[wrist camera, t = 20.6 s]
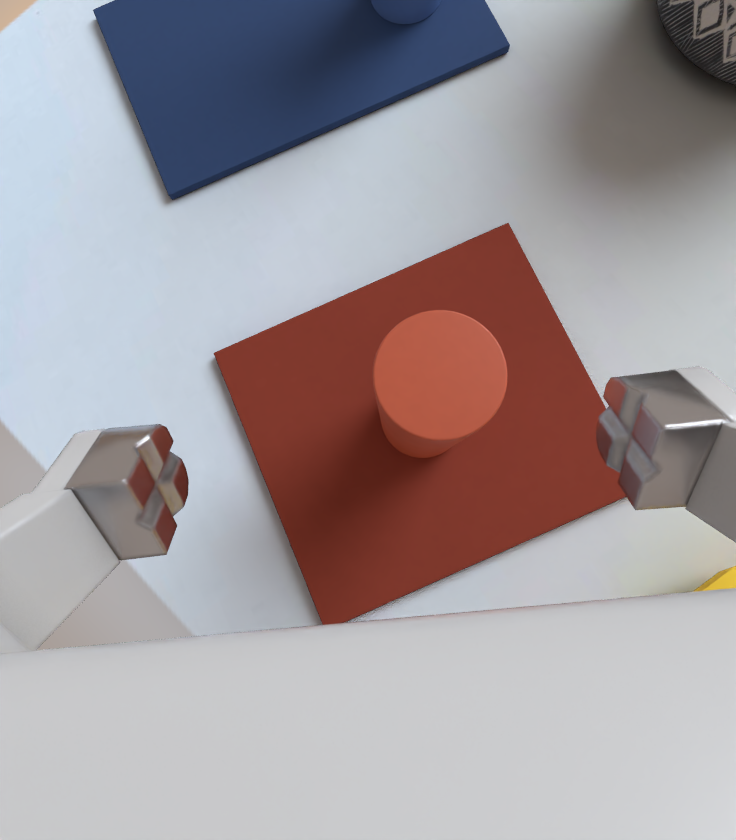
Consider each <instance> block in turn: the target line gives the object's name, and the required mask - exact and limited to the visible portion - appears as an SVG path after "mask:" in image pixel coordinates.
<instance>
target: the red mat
mask: <svg viewBox="0 0 736 840" xmlns="http://www.w3.org/2000/svg"><path fill="white" fill-rule="evenodd" d="M433 310H447V311H453V312H457V313H461V314H464V315H466V316H469V317H471V318H472V319H474V320H476V321H478V322H479V323H480V324H482V325H483V326H484V327H485V328H486V329H487V330H488V331H489V332H491V334H492V335H493V336H494V337H495V339H496V340H497V342H498V344H499V345H500V347H501V349H502V352H503V354H504V357H505V360H506V365H507V387H506V392H505V395H504V399H503V401H502V403H501V405H500V407H499V409H498V410H497V412H496V414H495V415H494V416H493V417H492V418H491V420H490V421H489V422H488V423H487V424H485V425H484V426H483V427H482V428H480V429H479V430H478V431H476V432H475V433H473V434H472V435H470V436H468V437H467V438H465V439H464V440H462V441H461V442H459V443H458V444H456V445H455V446H453V447H452V448H450V449H448V450H447V451H445V452H444V453H442V454H440V455H437V456H435V457H430V458H416V457H411V456H408V455H406V454H403V453H402V452H400V451H398V450H397V449H396V448H395V447H394V446H393V445H392V444H391V443H390V442H389V441H388V439H387V438H386V436H385V434H384V431H383V429H382V424H381V420H380V415H379V410H378V405H377V401H376V396H375V391H374V386H373V365H374V359H375V356H376V353H377V351H378V349H379V346H380V344H381V343H382V341H383V340H384V338H385V337H386V335H387V334H388V333H389V332H390V331H391V330H392V329H393V328H394V327H395V326H396V325H397V324H399V323H400V322H402V321H403V320H405V319H407V318H409V317H411V316H413V315H416V314H418V313H422V312H426V311H433ZM214 355H215V358H216V360H217V363H218V365H219V368H220V370H221V373H222V375H223V378H224V380H225V382H226V385H227V387H228V390H229V392H230V395H231V397H232V400H233V402H234V405H235V407H236V410H237V412H238V415H239V417H240V420H241V422H242V425H243V427H244V430H245V432H246V435H247V437H248V440H249V442H250V445H251V447H252V450H253V452H254V455H255V457H256V460H257V462H258V465H259V467H260V470H261V472H262V475H263V477H264V480H265V482H266V485H267V487H268V489H269V492H270V494H271V497H272V499H273V502H274V504H275V507H276V509H277V512H278V514H279V517H280V519H281V522H282V524H283V527H284V529H285V532H286V534H287V537H288V539H289V542H290V544H291V547H292V549H293V552H294V554H295V557H296V559H297V562H298V564H299V567H300V569H301V572H302V574H303V577H304V579H305V582H306V584H307V587H308V589H309V592H310V594H311V596H312V599H313V601H314V604H315V606H316V609H317V611H318V614H319V616H320V619H321V621H322V624H323V625H326V624H338V623H344V622H346V621H348V620H350V619H353V618H355V617H357V616H359V615H362V614H364V613H366V612H368V611H371V610H373V609H375V608H377V607H380V606H382V605H384V604H386V603H389V602H391V601H393V600H395V599H398V598H400V597H402V596H404V595H407V594H409V593H411V592H413V591H416V590H418V589H420V588H422V587H424V586H427V585H429V584H431V583H433V582H436V581H438V580H440V579H442V578H445V577H447V576H449V575H451V574H454V573H456V572H458V571H460V570H463V569H465V568H467V567H469V566H472V565H474V564H476V563H478V562H481V561H483V560H485V559H487V558H490V557H492V556H494V555H496V554H499V553H501V552H503V551H505V550H507V549H510V548H512V547H514V546H516V545H519V544H521V543H523V542H525V541H528V540H530V539H532V538H534V537H537V536H539V535H541V534H543V533H546V532H548V531H550V530H552V529H555V528H557V527H559V526H561V525H564V524H566V523H568V522H570V521H573V520H575V519H577V518H579V517H581V516H584V515H586V514H588V513H590V512H593V511H595V510H597V509H599V508H602V507H604V506H606V505H608V504H611V503H613V502H615V501H617V500H620V499H622V498H624V497H626V495H625V493H624V492H623V490H622V489H621V487H620V486H619V484H618V479H619V476H620V472H618V471H616V470H614V469H612V468H610V467H609V466H607V465H606V464H605V462H604V460H603V459H602V457H601V455H600V453H599V450H598V447H597V441H596V427H597V422H598V417H599V416H600V415H601V414H602V413H603V412H604V411H605V410H606V408H605V406H604V404H603V402H602V400H601V398H600V396H599V394H598V392H597V391H596V389H595V387H594V385H593V383H592V381H591V379H590V377H589V375H588V373H587V372H586V370H585V368H584V366H583V364H582V362H581V360H580V358H579V356H578V354H577V353H576V351H575V349H574V347H573V345H572V343H571V341H570V339H569V337H568V335H567V334H566V332H565V330H564V328H563V326H562V324H561V322H560V320H559V318H558V316H557V315H556V313H555V311H554V309H553V307H552V305H551V303H550V301H549V299H548V297H547V296H546V294H545V292H544V290H543V288H542V286H541V284H540V282H539V280H538V278H537V277H536V275H535V273H534V271H533V269H532V267H531V265H530V263H529V261H528V259H527V258H526V256H525V254H524V252H523V250H522V248H521V246H520V244H519V242H518V240H517V239H516V237H515V235H514V233H513V231H512V229H511V227H510V225H509V223H507V224H504V225H502V226H500V227H498V228H495V229H493V230H491V231H489V232H486V233H484V234H482V235H479V236H477V237H475V238H473V239H470V240H468V241H466V242H464V243H461V244H459V245H457V246H455V247H452V248H450V249H448V250H446V251H443V252H441V253H439V254H437V255H434V256H432V257H430V258H427V259H425V260H423V261H421V262H418V263H416V264H414V265H412V266H409V267H407V268H405V269H403V270H400V271H398V272H396V273H394V274H391V275H389V276H387V277H385V278H382V279H380V280H378V281H375V282H373V283H371V284H369V285H366V286H364V287H362V288H360V289H357V290H355V291H353V292H351V293H348V294H346V295H344V296H342V297H339V298H337V299H335V300H333V301H330V302H328V303H326V304H323V305H321V306H319V307H317V308H314V309H312V310H310V311H308V312H305V313H303V314H301V315H299V316H296V317H294V318H292V319H290V320H287V321H285V322H283V323H281V324H278V325H276V326H274V327H271V328H269V329H267V330H265V331H262V332H260V333H258V334H256V335H253V336H251V337H249V338H247V339H244V340H242V341H240V342H238V343H235V344H233V345H231V346H229V347H226V348H224V349H222V350H219V351H217V352H215V353H214Z"/></svg>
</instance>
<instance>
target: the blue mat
mask: <svg viewBox="0 0 736 840" xmlns="http://www.w3.org/2000/svg"><path fill="white" fill-rule="evenodd" d="M93 11H94V14H95V16H96V19H97V21H98V24H99V26H100V29H101V31H102V33H103V36H104V38H105V41H106V43H107V46H108V48H109V51H110V53H111V55H112V58H113V60H114V63H115V65H116V68H117V70H118V73H119V75H120V77H121V80H122V82H123V85H124V87H125V90H126V92H127V95H128V97H129V100H130V102H131V104H132V107H133V109H134V112H135V114H136V117H137V119H138V122H139V124H140V126H141V129H142V131H143V134H144V136H145V139H146V141H147V144H148V146H149V148H150V151H151V153H152V156H153V158H154V161H155V163H156V166H157V168H158V170H159V173H160V175H161V178H162V180H163V183H164V185H165V188H166V190H167V193H168V195H169V196H170V198H171V199H172V200H173V199H175V198H178V197H180V196H182V195H185V194H187V193H189V192H191V191H194V190H196V189H198V188H200V187H203V186H205V185H207V184H210V183H212V182H214V181H216V180H219V179H221V178H223V177H225V176H228V175H230V174H232V173H235V172H237V171H239V170H241V169H244V168H246V167H248V166H250V165H253V164H255V163H257V162H259V161H262V160H264V159H266V158H269V157H271V156H273V155H275V154H278V153H280V152H282V151H284V150H287V149H289V148H291V147H294V146H296V145H298V144H300V143H303V142H305V141H307V140H309V139H312V138H314V137H316V136H319V135H321V134H323V133H325V132H328V131H330V130H332V129H334V128H337V127H339V126H341V125H344V124H346V123H348V122H350V121H353V120H355V119H357V118H359V117H362V116H364V115H366V114H368V113H371V112H373V111H375V110H378V109H380V108H382V107H384V106H387V105H389V104H391V103H393V102H396V101H398V100H400V99H403V98H405V97H407V96H409V95H412V94H414V93H416V92H418V91H421V90H423V89H425V88H428V87H430V86H432V85H434V84H437V83H439V82H441V81H443V80H446V79H448V78H450V77H452V76H455V75H457V74H459V73H462V72H464V71H466V70H468V69H471V68H473V67H475V66H477V65H480V64H482V63H484V62H487V61H489V60H491V59H493V58H496V57H498V56H500V55H502V54H505V53H507V52H508V50H509V46H510V44H509V43H508V41H507V39H506V37H505V35H504V34H503V32H502V30H501V28H500V27H499V25H498V23H497V21H496V19H495V18H494V16H493V14H492V12H491V11H490V9H489V7H488V5H487V3H486V2H485V0H441V2H440V4H439V6H438V7H437V9H436V10H435V11H434V12H433V13H432V14H431V15H430V16H429V17H427V18H426V19H424V20H422V21H419V22H417V23H413V24H397V23H393V22H390V21H388V20H386V19H384V18H383V17H381V16H380V15H379V14H378V13H377V12H376V10H375V9H374V7H373V5H372V3H371V0H114V1H112V2H110V3H108V4H105V5H103V6H101V7H98V8H96V9H94V10H93Z"/></svg>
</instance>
